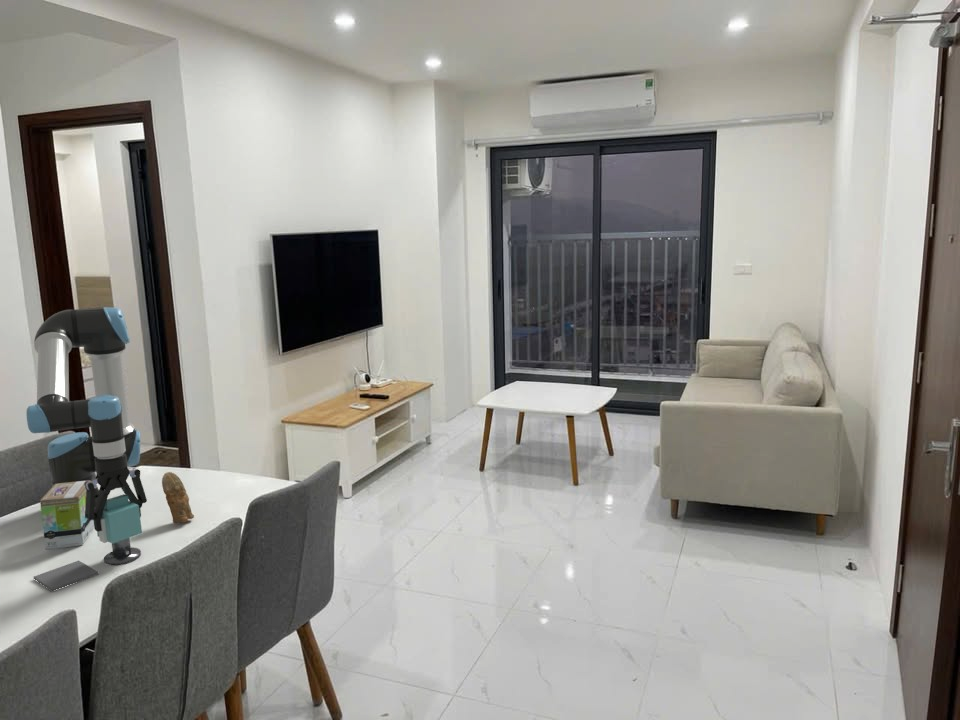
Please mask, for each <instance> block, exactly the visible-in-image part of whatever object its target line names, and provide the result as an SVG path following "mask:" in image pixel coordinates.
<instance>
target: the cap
mask: <svg viewBox="0 0 960 720" xmlns="http://www.w3.org/2000/svg"><path fill="white" fill-rule="evenodd" d="M94 509H95V508H94ZM101 518H103V519H105V527H106V535H107V543H108V542H109V543H110V544H111V545H112V544H113V543H116V542H118V541H121V540H124V539H127V538H132V537H134V536H138V535H141V534H142V533H143V532H142V531H143V529H142V522H141V517H140V512H139V505H137V504H135V503H133V502H130V501H129V499H128V496H127V495H125V493H124V494H120V495H118V496H114V497H111V498H107V501H106V504H105V507H104V511H103V514H102V517H101ZM96 533H97V537H98V538H99V532H98V531H96Z"/></svg>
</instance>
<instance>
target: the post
mask: <svg viewBox="0 0 960 720" xmlns="http://www.w3.org/2000/svg"><path fill="white" fill-rule="evenodd" d="M130 538H131V537H130ZM130 538H127V539H124V540H121V541H118V542H116V543H113V544H112V543H111V548H112V551H110V552H108V553H107V554H106V555H105V556H104V557H103V562H104V564H105V565H107V566H120V565H121V564H122V565H126V564H129V563H133V562H134V561H136V560H137V559H139V558H140V557H141V555H142V552H141V549H140V548H138V547H132V546H131V539H130ZM122 565H121V566H122Z"/></svg>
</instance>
